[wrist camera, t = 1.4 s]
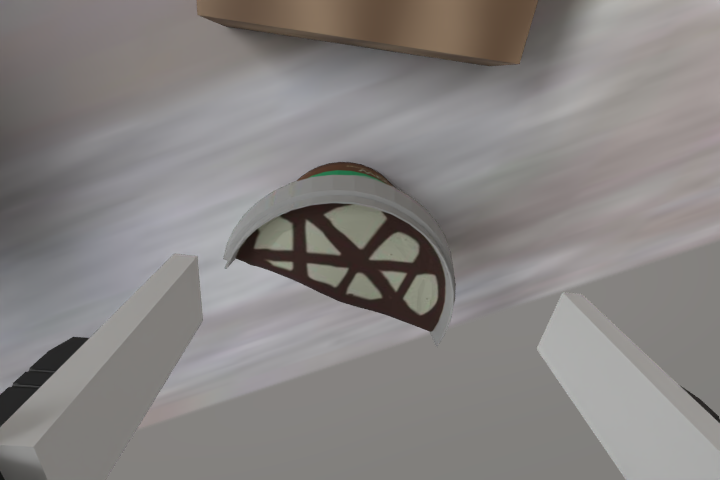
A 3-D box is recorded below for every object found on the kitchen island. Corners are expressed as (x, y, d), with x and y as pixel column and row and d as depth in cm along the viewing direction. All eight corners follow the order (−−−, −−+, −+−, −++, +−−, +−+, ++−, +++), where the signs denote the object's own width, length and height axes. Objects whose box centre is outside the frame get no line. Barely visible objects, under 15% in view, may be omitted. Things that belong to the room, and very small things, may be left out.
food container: (454, 190, 25) (517, 256, 16) (412, 258, 27) (446, 350, 18) (293, 110, 22) (257, 135, 13) (262, 193, 24) (212, 264, 15)
